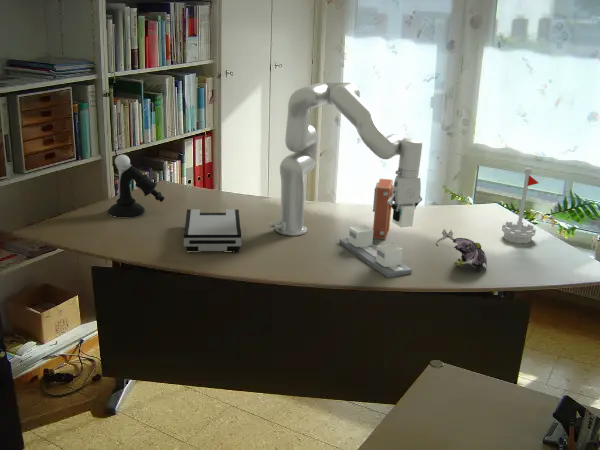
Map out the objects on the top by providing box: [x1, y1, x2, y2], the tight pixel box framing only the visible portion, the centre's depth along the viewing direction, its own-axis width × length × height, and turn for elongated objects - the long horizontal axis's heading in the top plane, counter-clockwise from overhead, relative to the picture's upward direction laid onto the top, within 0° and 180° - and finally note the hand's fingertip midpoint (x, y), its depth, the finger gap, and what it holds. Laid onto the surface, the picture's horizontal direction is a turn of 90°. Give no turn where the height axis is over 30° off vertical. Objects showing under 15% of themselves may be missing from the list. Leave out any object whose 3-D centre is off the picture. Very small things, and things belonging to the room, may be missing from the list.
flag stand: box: [501, 167, 539, 244], centre depth 278 cm, size 13×13×30 cm
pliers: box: [435, 228, 460, 247], centre depth 279 cm, size 10×1×20 cm
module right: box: [376, 243, 404, 267], centre depth 247 cm, size 7×6×6 cm
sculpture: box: [107, 154, 166, 218], centre depth 290 cm, size 15×24×25 cm, turn 94°
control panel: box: [372, 178, 394, 240], centre depth 278 cm, size 21×7×15 cm
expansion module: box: [392, 204, 416, 228], centre depth 257 cm, size 5×6×8 cm
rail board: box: [338, 237, 413, 279], centre depth 257 cm, size 10×35×2 cm, turn 26°
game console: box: [183, 208, 242, 253], centre depth 267 cm, size 21×32×8 cm, turn 7°
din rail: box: [347, 237, 403, 272], centre depth 257 cm, size 4×34×1 cm, turn 26°
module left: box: [348, 225, 374, 247], centre depth 264 cm, size 7×6×6 cm
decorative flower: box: [452, 237, 488, 273], centre depth 251 cm, size 14×12×15 cm
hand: (402, 219), depth 258 cm, fingers closed on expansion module, 5 cm apart
